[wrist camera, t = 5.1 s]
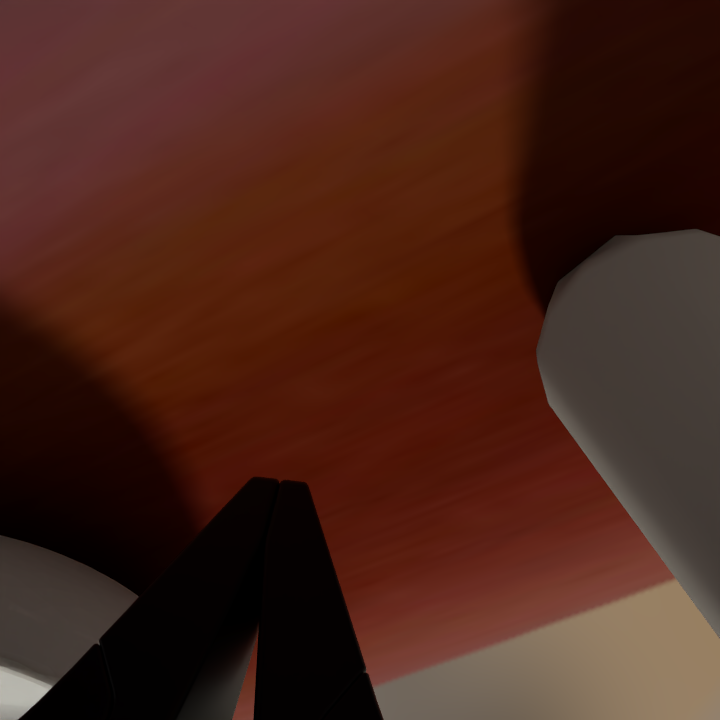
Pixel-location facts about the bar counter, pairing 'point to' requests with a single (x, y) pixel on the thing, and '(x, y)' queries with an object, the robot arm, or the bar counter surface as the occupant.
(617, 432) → the salt shaker
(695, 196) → the bar counter surface
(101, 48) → the bar counter surface
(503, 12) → the bar counter surface
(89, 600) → the serving bowl
